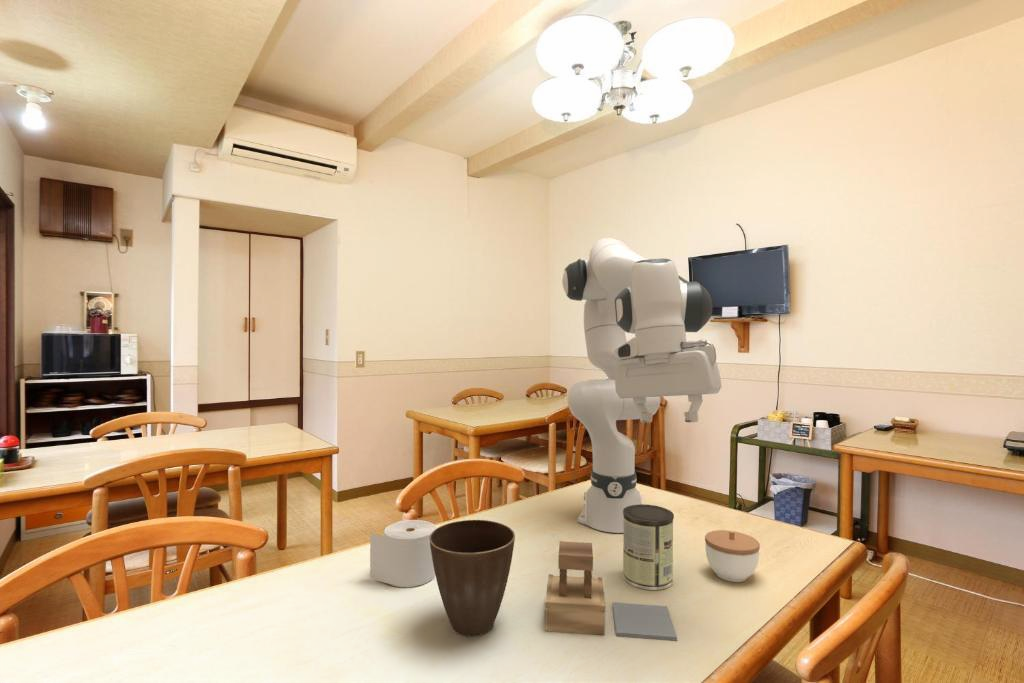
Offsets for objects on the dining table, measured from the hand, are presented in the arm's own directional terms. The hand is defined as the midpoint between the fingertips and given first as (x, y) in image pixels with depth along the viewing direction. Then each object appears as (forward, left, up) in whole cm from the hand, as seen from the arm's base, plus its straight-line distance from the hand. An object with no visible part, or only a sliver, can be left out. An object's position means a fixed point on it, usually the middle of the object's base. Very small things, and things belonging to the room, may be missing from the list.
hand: (668, 422), depth 94 cm
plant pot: (+6, -34, -36) cm, 50 cm away
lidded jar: (-20, +17, -36) cm, 44 cm away
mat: (+1, -4, -36) cm, 36 cm away
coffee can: (-16, -1, -36) cm, 39 cm away
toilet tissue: (-10, -51, -36) cm, 63 cm away
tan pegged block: (+1, -16, -31) cm, 35 cm away
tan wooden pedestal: (+1, -16, -36) cm, 39 cm away
